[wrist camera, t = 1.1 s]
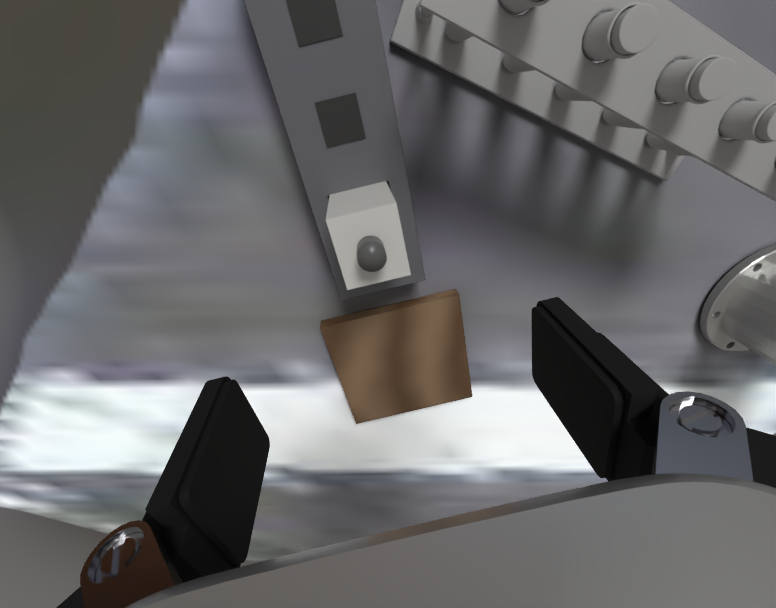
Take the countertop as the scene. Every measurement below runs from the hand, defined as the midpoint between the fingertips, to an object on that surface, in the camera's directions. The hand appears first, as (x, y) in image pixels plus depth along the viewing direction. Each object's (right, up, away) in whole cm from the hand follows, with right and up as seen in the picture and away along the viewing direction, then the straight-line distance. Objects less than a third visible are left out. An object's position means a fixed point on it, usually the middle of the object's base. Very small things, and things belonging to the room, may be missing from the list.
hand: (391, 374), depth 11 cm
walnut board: (+1, -3, +26) cm, 26 cm away
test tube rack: (+12, +18, +15) cm, 27 cm away
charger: (-2, +10, +17) cm, 20 cm away
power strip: (-3, +14, +15) cm, 21 cm away
